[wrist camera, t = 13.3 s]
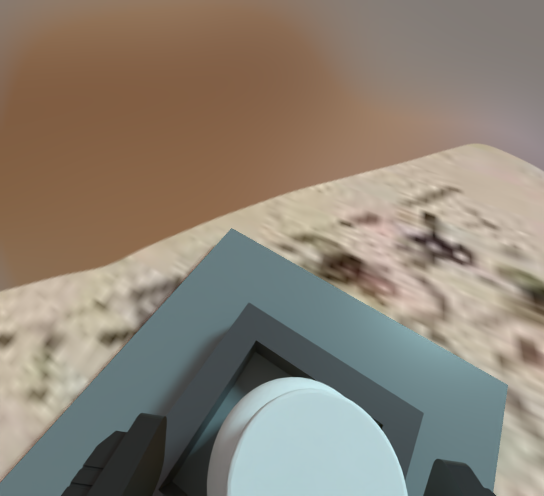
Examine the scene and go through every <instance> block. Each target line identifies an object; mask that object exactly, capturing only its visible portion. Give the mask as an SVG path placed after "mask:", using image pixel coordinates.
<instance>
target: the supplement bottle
mask: <svg viewBox="0 0 544 496" xmlns="http://www.w3.org/2000/svg"><path fill="white" fill-rule="evenodd" d="M207 496H408V493H407V489H406V484H405V480H404V476H403V472H402V469H401V466H400V464H399V461H398V458H397V456H396V454H395V452H394V450H393V448H392V446H391V444H390V442H389V440H388V438H387V437H386V435H385V434H384V432H383V431H382V430H381V428H380V427H379V426H378V424H377V423H376V422H375V421H374V420H373V419H372V418H371V416H370V415H368V414H367V413H366V412H365V411H364V410H363V409H362V408H361V407H359V406H358V405H357V404H355V403H354V402H353V401H351V400H349V399H348V398H346V397H344V396H343V395H342V394H340V393H339V392H337V391H336V390H334V389H333V388H331V387H329V386H327V385H325V384H323V383H321V382H318V381H315V380H312V379H307V378H301V377H287V378H280V379H275V380H272V381H269V382H266V383H264V384H262V385H260V386H258V387H256V388H255V389H253V390H252V391H250V392H249V393H248V394H246V395H245V396H244V397H243V398H242V399H241V400H240V401H239V402H238V403H237V404H236V405H235V406H234V407H233V409H232V410H231V411H230V413H229V414H228V416H227V417H226V419H225V421H224V422H223V424H222V426H221V428H220V430H219V432H218V435H217V437H216V440H215V442H214V445H213V449H212V453H211V457H210V462H209V468H208V476H207Z"/></svg>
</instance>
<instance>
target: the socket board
mask: <svg viewBox="0 0 544 496" xmlns="http://www.w3.org/2000/svg"><path fill="white" fill-rule="evenodd" d="M287 377H301V378H307V379H312V380H315V381H318V382H321V383H323V384H325V385H327V386H329V387H331V388H333V389H334V390H336V391H337V392H339V393H340V394H342V395H343V396H344V397H346V398H348V399H349V400H351V401H353V402H354V403H355V404H357V405H358V406H359V407H361V408H362V409H363V410H364V411H365V412H366V413H367V414H368V415H370V416H371V418H372V419H373V420H374V421H375V422H376V423H377V424H378V426H379V427H380V428H381V430H382V431H383V432H384V434H385V435H386V437H387V438H388V440H389V442H390V444H391V446H392V448H393V450H394V452H395V454H396V456H397V458H398V461H399V464H400V466H401V469H402V472H403V476H404V480H405V484H406V489H407V493H408V496H423V494H424V491H425V488H426V485H427V482H428V478H429V475H430V472H431V469H432V465H433V463H434V461H435V460H436V459H444V460H450V461H457V462H463V463H466V464H467V465H468V466H469V467H470V468H471V469H472V471H473V472H474V474H475V475H476V477H477V478H478V480H479V481H480V483H481V484H482V486H483V487H484V488H488V489H490V490H491V491H492V492H493V489H494V482H495V474H496V467H497V460H498V453H499V445H500V438H501V431H502V424H503V416H504V409H505V402H506V395H507V387H508V385H507V384H505V383H503V382H501V381H500V380H498V379H496V378H494V377H493V376H491V375H489V374H487V373H486V372H484V371H482V370H480V369H479V368H477V367H475V366H473V365H472V364H470V363H468V362H466V361H465V360H463V359H461V358H459V357H458V356H456V355H454V354H452V353H450V352H449V351H447V350H445V349H443V348H442V347H440V346H438V345H436V344H435V343H433V342H431V341H429V340H428V339H426V338H424V337H422V336H421V335H419V334H417V333H415V332H414V331H412V330H410V329H408V328H406V327H405V326H403V325H401V324H399V323H398V322H396V321H394V320H392V319H391V318H389V317H387V316H385V315H384V314H382V313H380V312H378V311H377V310H375V309H373V308H371V307H370V306H368V305H366V304H364V303H363V302H361V301H359V300H357V299H355V298H354V297H352V296H350V295H348V294H347V293H345V292H343V291H341V290H340V289H338V288H336V287H334V286H333V285H331V284H329V283H327V282H326V281H324V280H322V279H320V278H319V277H317V276H315V275H313V274H312V273H310V272H308V271H306V270H304V269H303V268H301V267H299V266H297V265H296V264H294V263H292V262H290V261H289V260H287V259H285V258H283V257H282V256H280V255H278V254H276V253H275V252H273V251H271V250H269V249H268V248H266V247H264V246H262V245H261V244H259V243H257V242H255V241H253V240H252V239H250V238H248V237H246V236H245V235H243V234H241V233H239V232H238V231H236V230H234V229H232V228H231V229H230V231H229V232H228V233H227V234H226V235H225V236H224V237H223V238H222V239H221V241H220V242H219V243H218V244H217V245H216V246H215V247H214V248H213V249H212V250H211V252H210V253H209V254H208V255H207V256H206V257H205V258H204V259H203V260H202V261H201V263H200V264H199V265H198V266H197V267H196V268H195V269H194V270H193V271H192V272H191V274H190V275H189V276H188V277H187V278H186V279H185V280H184V281H183V282H182V283H181V285H180V286H179V287H178V288H177V289H176V290H175V291H174V292H173V293H172V294H171V296H170V297H169V298H168V299H167V300H166V301H165V302H164V303H163V304H162V305H161V307H160V308H159V309H158V310H157V311H156V312H155V313H154V314H153V315H152V316H151V318H150V319H149V320H148V321H147V322H146V323H145V324H144V325H143V326H142V327H141V329H140V330H139V331H138V332H137V333H136V334H135V335H134V336H133V337H132V338H131V340H130V341H129V342H128V343H127V344H126V345H125V346H124V347H123V348H122V349H121V351H120V352H119V353H118V354H117V355H116V356H115V357H114V358H113V359H112V360H111V362H110V363H109V364H108V365H107V366H106V367H105V368H104V369H103V370H102V371H101V373H100V374H99V375H98V376H97V377H96V378H95V379H94V380H93V381H92V382H91V384H90V385H89V386H88V387H87V388H86V389H85V390H84V391H83V392H82V393H81V395H80V396H79V397H78V398H77V399H76V400H75V401H74V402H73V403H72V404H71V406H70V407H69V408H68V409H67V410H66V411H65V412H64V413H63V414H62V415H61V417H60V418H59V419H58V420H57V421H56V422H55V423H54V424H53V425H52V426H51V428H50V429H49V430H48V431H47V432H46V433H45V434H44V435H43V436H42V437H41V439H40V440H39V441H38V442H37V443H36V444H35V445H34V446H33V447H32V448H31V450H30V451H29V452H28V453H27V454H26V455H25V456H24V457H23V458H22V459H21V461H20V462H19V463H18V464H17V465H16V466H15V467H14V468H13V469H12V470H11V472H10V473H9V474H8V475H7V476H6V477H5V478H4V479H3V480H2V481H1V483H0V496H61V495H62V493H63V492H64V490H65V489H66V488H67V486H68V487H69V485H70V483H71V481H72V479H73V478H74V477H75V475H76V474H77V473H78V471H79V470H80V469H82V467H83V464H84V463H85V462H86V460H87V459H88V457H89V456H90V455H91V453H92V452H93V451H94V449H95V448H96V446H97V445H98V444H100V443H101V442H102V441H103V440H105V439H106V438H107V437H109V436H110V435H111V434H112V433H114V432H115V431H122V432H128V430H129V429H130V427H131V426H132V424H133V422H134V421H135V419H136V418H137V416H138V415H139V414H140V413H147V414H153V415H160V416H166V417H167V429H166V443H165V457H164V463H163V468H162V471H161V475H160V478H159V481H158V483H157V486H156V488H155V490H154V493H153V495H152V496H207V476H208V468H209V462H210V457H211V453H212V449H213V445H214V442H215V440H216V437H217V435H218V432H219V430H220V428H221V426H222V424H223V422H224V421H225V419H226V417H227V416H228V414H229V413H230V411H231V410H232V409H233V407H234V406H235V405H236V404H237V403H238V402H239V401H240V400H241V399H242V398H243V397H244V396H245V395H246V394H248V393H249V392H250V391H252V390H253V389H255V388H256V387H258V386H260V385H262V384H264V383H266V382H269V381H272V380H275V379H280V378H287Z"/></svg>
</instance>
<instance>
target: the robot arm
mask: <svg viewBox="0 0 544 496" xmlns="http://www.w3.org/2000/svg"><path fill="white" fill-rule="evenodd" d="M166 429H167V417H166V416H160V415H153V414H147V413H140V414H139V415H138V416H137V418H136V419H135V421H134V422H133V424H132V426H131V427H130V429H129V430H128V432H122V431H115V432H114V433H112V434H111V435H110V436H109V437H107V438H106V439H105V440H103V441H102V442H101V443H100V444H98V445H97V446H96V448H95V449H94V451H93V452H92V453H91V455H90V456H89V457H88V459H87V460H86V462H85V463H84V464H83V467H82V469H80V470H79V471H78V473H77V474H76V475H75V477H74V478H73V479H72V481H71V483H70V485H69V487H68V486H67V488H66V489H65V490H64V492H63V493H62V495H61V496H152V495H153V493H154V490H155V488H156V486H157V483H158V481H159V478H160V475H161V471H162V468H163V463H164V457H165V443H166ZM423 496H496V495H495V494H494V493H493V492H492V491H491V490H490V489H488V488H484V487H483V486H482V484H481V483H480V481H479V480H478V478H477V477H476V475H475V474H474V472H473V471H472V469H471V468H470V467H469V466H468V465H467V464H466V463H463V462H457V461H450V460H444V459H436V460H435V461H434V463H433V465H432V469H431V472H430V475H429V478H428V482H427V485H426V488H425V491H424V494H423Z"/></svg>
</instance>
